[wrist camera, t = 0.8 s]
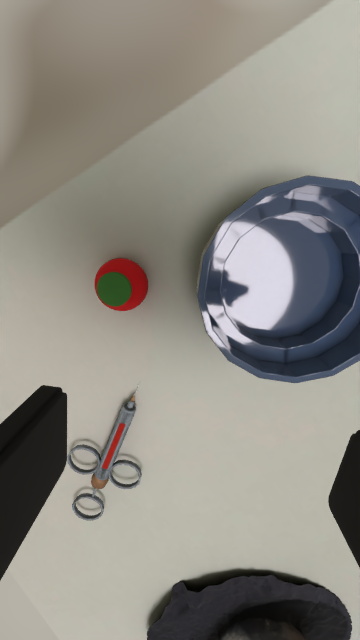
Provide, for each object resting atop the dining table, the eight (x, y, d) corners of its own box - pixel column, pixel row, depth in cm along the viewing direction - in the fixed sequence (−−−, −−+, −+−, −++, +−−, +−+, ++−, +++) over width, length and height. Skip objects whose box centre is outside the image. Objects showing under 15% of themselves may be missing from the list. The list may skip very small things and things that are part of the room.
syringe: (180, 392, 25) (179, 402, 24) (119, 521, 30) (115, 537, 29) (102, 362, 25) (96, 370, 23) (54, 498, 30) (46, 513, 28)
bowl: (180, 220, 21) (176, 213, 16) (353, 170, 19) (405, 146, 15) (217, 367, 24) (223, 398, 20) (368, 334, 23) (414, 359, 18)
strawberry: (98, 264, 22) (76, 268, 18) (143, 251, 22) (132, 253, 18) (113, 309, 23) (96, 323, 19) (157, 298, 23) (149, 310, 19)
